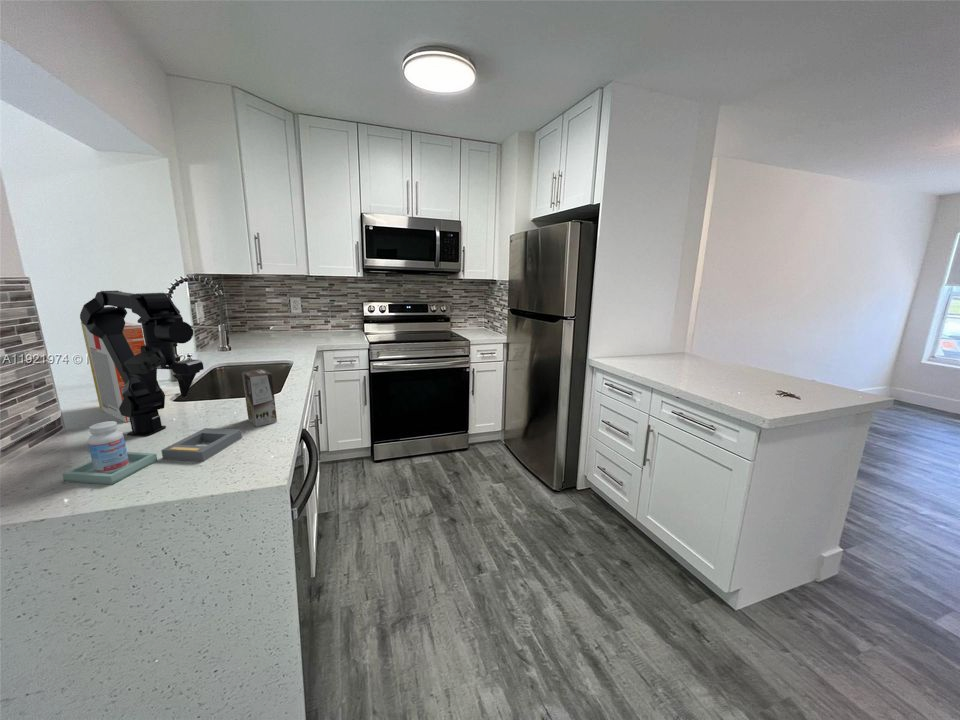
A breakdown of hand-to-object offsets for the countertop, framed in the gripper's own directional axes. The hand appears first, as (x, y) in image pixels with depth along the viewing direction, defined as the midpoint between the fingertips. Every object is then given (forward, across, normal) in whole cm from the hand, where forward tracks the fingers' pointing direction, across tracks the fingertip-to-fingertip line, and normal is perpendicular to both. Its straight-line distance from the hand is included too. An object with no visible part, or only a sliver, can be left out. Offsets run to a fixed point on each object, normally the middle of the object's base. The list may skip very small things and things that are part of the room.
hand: (168, 395), depth 104 cm
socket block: (+13, +12, -4) cm, 18 cm away
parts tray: (+13, 0, -18) cm, 22 cm away
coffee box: (+13, +15, +16) cm, 26 cm away
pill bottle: (+13, 0, -18) cm, 22 cm away
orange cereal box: (+13, -34, +18) cm, 41 cm away
